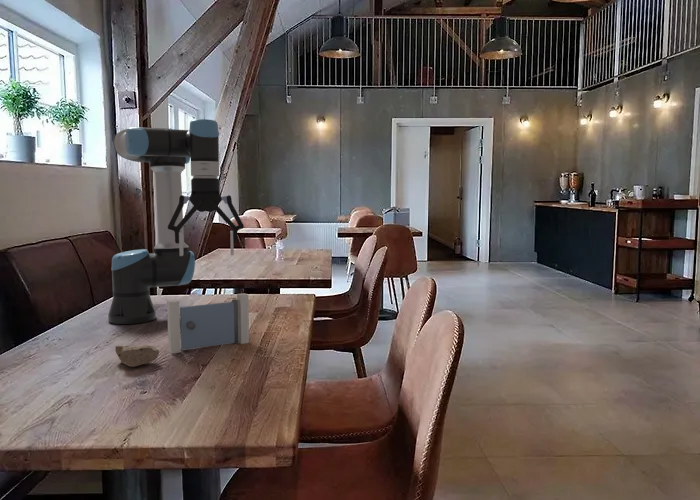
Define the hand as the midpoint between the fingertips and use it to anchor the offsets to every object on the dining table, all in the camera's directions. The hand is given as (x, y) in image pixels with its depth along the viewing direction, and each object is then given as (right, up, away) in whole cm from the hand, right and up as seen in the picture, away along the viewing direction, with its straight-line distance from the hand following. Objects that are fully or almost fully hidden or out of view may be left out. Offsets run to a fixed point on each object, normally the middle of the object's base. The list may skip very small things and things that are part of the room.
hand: (207, 255), depth 159 cm
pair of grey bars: (0, -26, +2) cm, 26 cm away
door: (+1, -26, +2) cm, 26 cm away
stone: (-11, -28, -16) cm, 34 cm away
